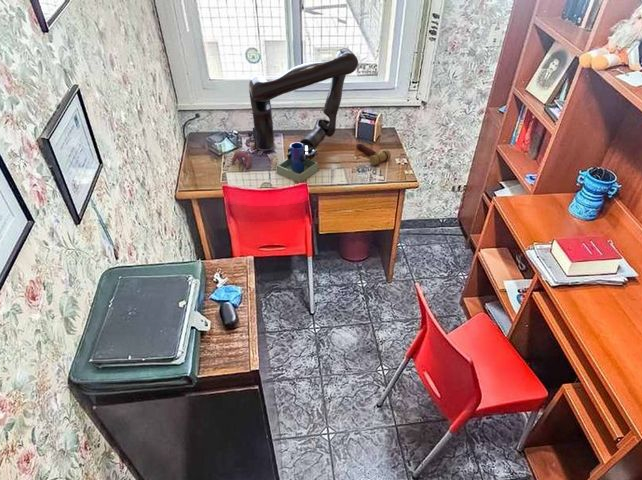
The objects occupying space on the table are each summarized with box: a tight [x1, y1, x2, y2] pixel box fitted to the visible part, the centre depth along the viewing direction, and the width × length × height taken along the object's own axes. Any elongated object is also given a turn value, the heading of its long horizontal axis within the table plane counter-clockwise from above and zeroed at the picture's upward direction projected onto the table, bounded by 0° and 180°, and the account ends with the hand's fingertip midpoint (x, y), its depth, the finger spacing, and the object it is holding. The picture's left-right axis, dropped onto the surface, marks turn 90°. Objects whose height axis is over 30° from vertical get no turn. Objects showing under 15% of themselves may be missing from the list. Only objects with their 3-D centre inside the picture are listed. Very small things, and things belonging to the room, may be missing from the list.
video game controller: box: [231, 150, 254, 169], centre depth 223 cm, size 10×5×7 cm, turn 65°
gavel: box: [355, 143, 392, 166], centre depth 233 cm, size 21×5×10 cm
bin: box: [275, 157, 319, 184], centre depth 220 cm, size 14×14×4 cm
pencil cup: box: [289, 141, 304, 173], centre depth 216 cm, size 6×6×12 cm
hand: (294, 158), depth 214 cm, fingers closed on pencil cup, 6 cm apart
